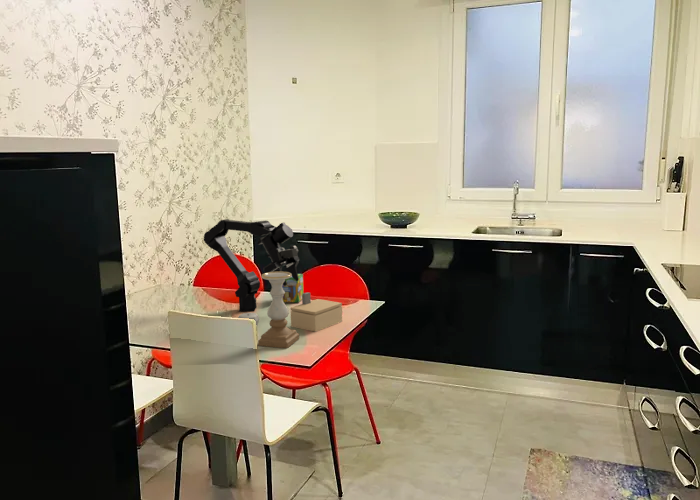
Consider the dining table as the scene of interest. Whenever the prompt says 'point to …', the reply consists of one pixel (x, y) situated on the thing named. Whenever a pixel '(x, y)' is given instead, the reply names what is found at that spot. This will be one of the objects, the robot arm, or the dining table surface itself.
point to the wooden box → (316, 319)
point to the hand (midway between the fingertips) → (291, 283)
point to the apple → (250, 316)
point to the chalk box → (293, 289)
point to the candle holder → (278, 315)
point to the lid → (314, 305)
